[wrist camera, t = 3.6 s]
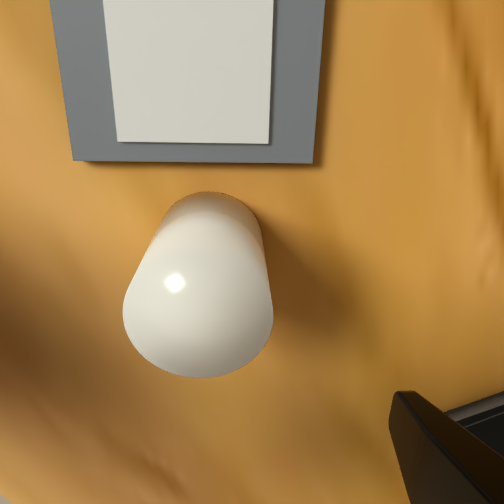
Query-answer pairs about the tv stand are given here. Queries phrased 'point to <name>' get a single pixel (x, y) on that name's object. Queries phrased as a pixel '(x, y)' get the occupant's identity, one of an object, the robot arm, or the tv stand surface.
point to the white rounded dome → (201, 289)
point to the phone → (483, 420)
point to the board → (190, 79)
